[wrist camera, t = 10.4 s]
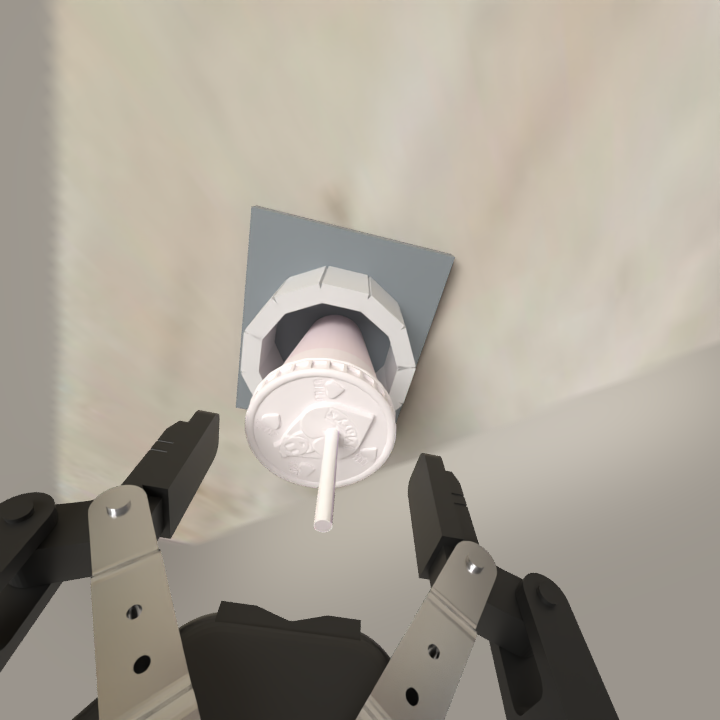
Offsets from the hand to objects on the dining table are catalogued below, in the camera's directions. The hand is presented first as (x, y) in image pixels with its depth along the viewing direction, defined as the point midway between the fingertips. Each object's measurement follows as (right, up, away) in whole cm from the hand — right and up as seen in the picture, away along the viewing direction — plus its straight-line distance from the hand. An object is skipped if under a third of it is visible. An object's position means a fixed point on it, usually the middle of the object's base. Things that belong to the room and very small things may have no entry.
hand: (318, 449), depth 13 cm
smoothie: (0, +5, +9) cm, 11 cm away
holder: (0, +5, +10) cm, 11 cm away
